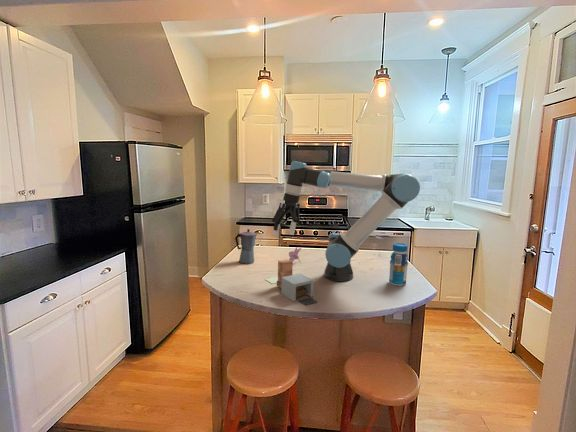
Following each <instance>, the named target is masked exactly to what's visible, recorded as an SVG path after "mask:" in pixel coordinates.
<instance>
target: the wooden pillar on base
mask: <svg viewBox="0 0 576 432" xmlns="http://www.w3.org/2000/svg"><path fill="white" fill-rule="evenodd" d="M293 262H294V261H293ZM293 262H292V261H290V260H289V259H287V258H285V259H279V260H277V277H278V281H277V283H276V286H277V288H280V289H281V286H282V277H285V276H290V275H293V266H294V265H293ZM305 295H307V294H306V289H304V288H302V287H301V286H296V298H297V297H301V296H305Z"/></svg>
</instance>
